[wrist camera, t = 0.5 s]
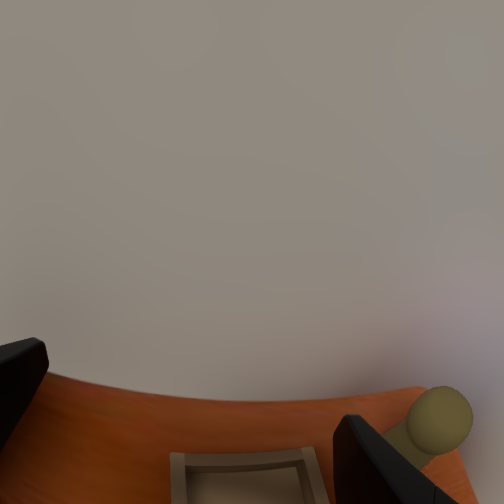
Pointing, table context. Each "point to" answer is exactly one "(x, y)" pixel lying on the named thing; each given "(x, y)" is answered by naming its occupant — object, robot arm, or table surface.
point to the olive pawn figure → (432, 426)
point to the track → (247, 478)
